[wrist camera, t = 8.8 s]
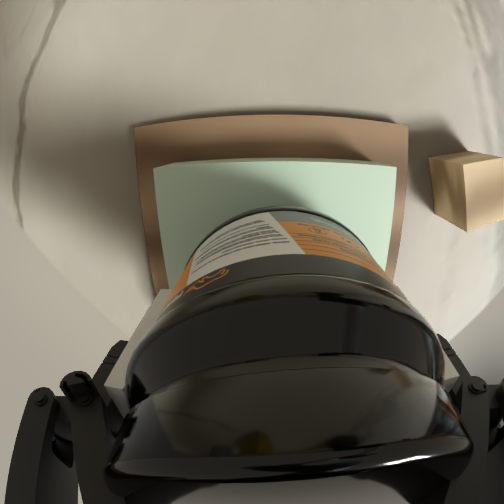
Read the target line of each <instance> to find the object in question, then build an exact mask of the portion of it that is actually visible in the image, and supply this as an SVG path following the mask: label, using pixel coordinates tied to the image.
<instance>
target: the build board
mask: <svg viewBox="0 0 504 504" xmlns="http://www.w3.org/2000/svg"><path fill="white" fill-rule="evenodd" d="M134 134H135V150H136V164H137V175H138V185H139V194H140V203H141V210H142V218H143V225H144V232H145V238H146V244H147V250H148V256H149V262H150V267H151V272H152V277H153V282H154V287H155V292H156V296H157V294H158V293H159V291H160V290H161V289H169V285H168V279H167V273H166V268H165V261H164V255H163V249H162V242H161V235H160V227H159V220H158V212H157V203H156V194H155V184H154V172H153V168H156V167H160V166H164V165H167V164H171V163H176V162H187V161H200V160H215V159H235V158H327V159H347V160H362V161H373V162H378V163H382V164H386V165H390V166H394V167H397V171H396V187H395V200H394V210H393V219H392V228H391V236H390V243H389V250H388V256H387V262H386V268H385V273H386V274H387V275H388V277H389V278H390V279H391V281H392V282H393V278H394V273H395V268H396V263H397V257H398V251H399V245H400V238H401V231H402V224H403V216H404V207H405V196H406V184H407V168H408V126H406V125H400V124H394V123H388V122H380V121H373V120H364V119H355V118H345V117H332V116H315V115H239V116H222V117H209V118H198V119H189V120H180V121H172V122H165V123H158V124H152V125H146V126H140V127H134Z"/></svg>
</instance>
